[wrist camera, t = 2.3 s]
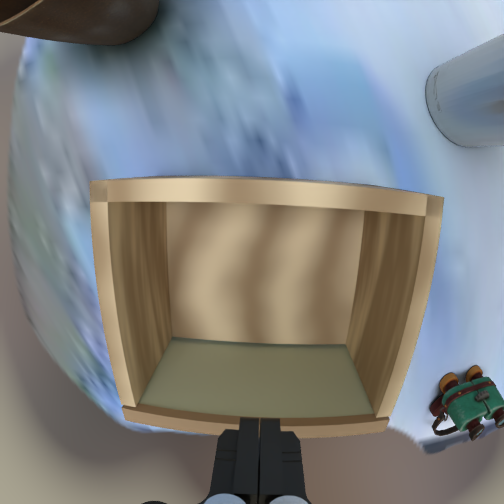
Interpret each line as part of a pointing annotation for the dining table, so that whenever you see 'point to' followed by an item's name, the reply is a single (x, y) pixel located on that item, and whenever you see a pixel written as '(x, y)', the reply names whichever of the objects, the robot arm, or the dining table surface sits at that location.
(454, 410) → the binoculars
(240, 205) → the crate
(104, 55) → the dining table surface
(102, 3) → the plant pot
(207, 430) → the panel
